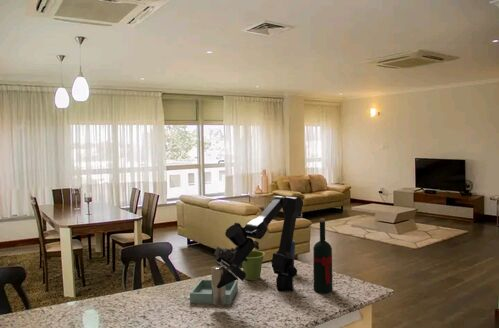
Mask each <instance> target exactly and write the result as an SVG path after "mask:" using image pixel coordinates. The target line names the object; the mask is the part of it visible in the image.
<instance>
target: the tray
mask: <svg viewBox="0 0 499 328" xmlns="http://www.w3.org/2000/svg"><path fill="white" fill-rule="evenodd" d="M238 285H239V284H238V280H235V281H233V282H231V283H229V284H227V285H225V293H226V303H225V304H224V305H231V304H232V302H233V300H234V298H235V295H236V294H237V292H238ZM189 303H190V304H191V303H192V304H208V305H209V304H211V305H214V304H213V303H212V279H200V280H199V281H198V282H197V284H196V285H195V286H194V287H193V289H191V291H190V292H189Z"/></svg>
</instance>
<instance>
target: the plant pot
mask: <svg viewBox="0 0 499 328" xmlns="http://www.w3.org/2000/svg"><path fill="white" fill-rule="evenodd" d="M265 254H266V253H265V252H264V251H260V250H252V252H251V253H250V254H249V255H248V256H247V258H246V259H247V261H246V262H245V261H244V262H243V263H242V264H241V267H242V270H243V271H244V272H245V273H246V278H245V279H244V280H248V281H258V280H259V279H260V278H261V273H262V266H263V260H264V256H265Z"/></svg>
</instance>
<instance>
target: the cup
mask: <svg viewBox="0 0 499 328" xmlns="http://www.w3.org/2000/svg"><path fill="white" fill-rule="evenodd" d="M295 253H296V241H295V239H293V240H292V246H291V255H292V258H293V266H294V267H295Z"/></svg>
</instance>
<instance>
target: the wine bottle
mask: <svg viewBox="0 0 499 328" xmlns="http://www.w3.org/2000/svg"><path fill="white" fill-rule="evenodd" d="M312 258H313V263H312V264H313V267H312V268H313V271H312V272H313V292H315V293H318V294H326V295H327V294H330V293H333V248H332V246H331V244H330V243H329V242H328V241H326V219H325V218H319V240H318V241H317V242H316V243H315V244H314V245H313V257H312Z"/></svg>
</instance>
